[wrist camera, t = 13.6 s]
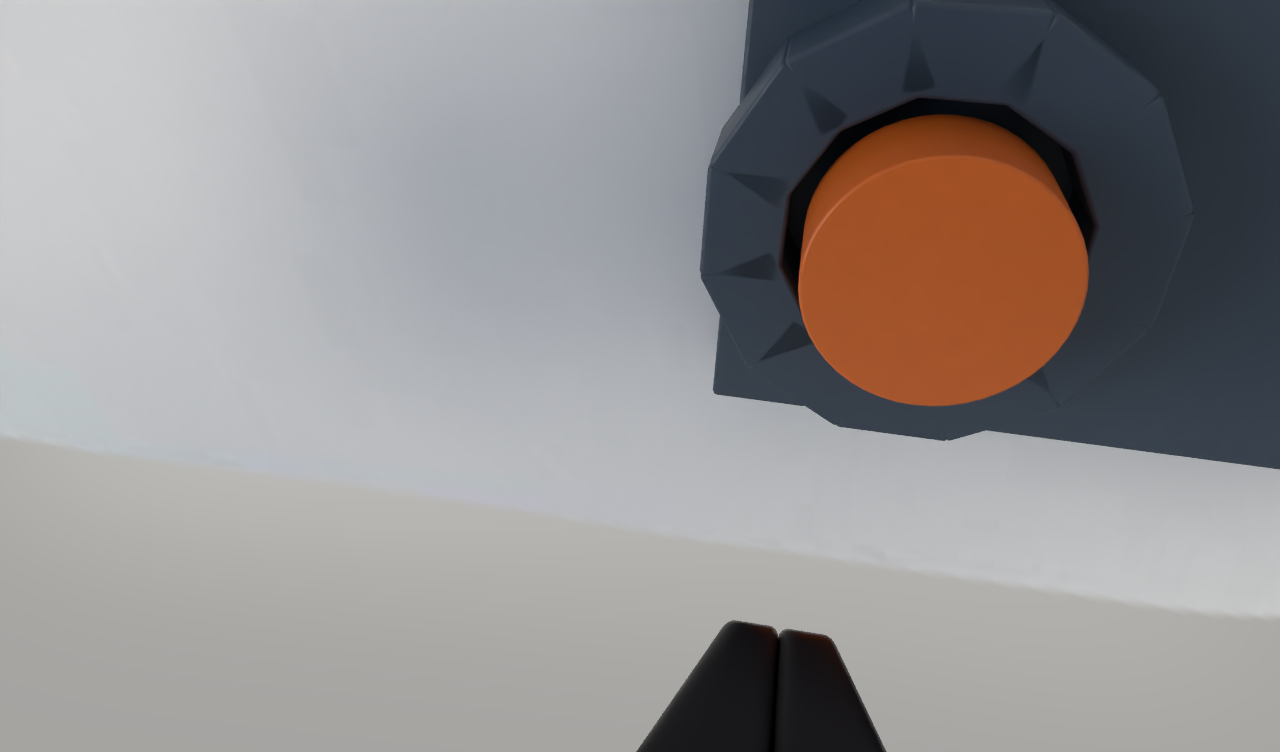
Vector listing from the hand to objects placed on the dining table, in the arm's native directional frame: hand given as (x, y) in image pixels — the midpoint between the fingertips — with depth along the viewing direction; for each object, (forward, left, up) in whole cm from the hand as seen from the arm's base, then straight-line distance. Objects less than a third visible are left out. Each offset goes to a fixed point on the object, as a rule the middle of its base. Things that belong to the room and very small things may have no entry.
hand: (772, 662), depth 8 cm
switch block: (+5, +1, -11) cm, 12 cm away
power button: (+2, +1, -8) cm, 8 cm away
